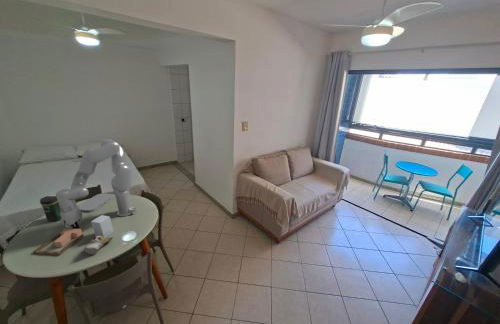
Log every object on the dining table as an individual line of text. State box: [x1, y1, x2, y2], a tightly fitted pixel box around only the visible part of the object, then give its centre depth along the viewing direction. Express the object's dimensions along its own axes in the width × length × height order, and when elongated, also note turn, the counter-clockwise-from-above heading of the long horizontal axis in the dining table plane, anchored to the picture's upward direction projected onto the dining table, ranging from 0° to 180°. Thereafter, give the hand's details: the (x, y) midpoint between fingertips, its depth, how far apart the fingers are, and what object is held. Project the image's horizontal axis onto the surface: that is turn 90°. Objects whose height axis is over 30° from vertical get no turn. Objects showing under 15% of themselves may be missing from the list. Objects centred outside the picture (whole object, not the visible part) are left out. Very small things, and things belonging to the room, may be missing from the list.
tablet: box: [77, 193, 115, 213], centre depth 165 cm, size 16×26×2 cm, turn 176°
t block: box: [53, 228, 83, 248], centre depth 123 cm, size 10×12×4 cm
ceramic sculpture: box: [84, 235, 113, 255], centre depth 117 cm, size 11×9×15 cm
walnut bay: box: [32, 232, 85, 256], centre depth 120 cm, size 16×16×2 cm
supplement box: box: [91, 214, 115, 239], centre depth 128 cm, size 7×7×13 cm
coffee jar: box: [39, 195, 62, 222], centre depth 141 cm, size 10×8×19 cm
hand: (76, 230), depth 131 cm, fingers closed
